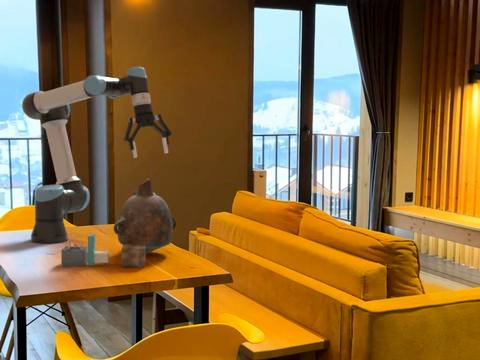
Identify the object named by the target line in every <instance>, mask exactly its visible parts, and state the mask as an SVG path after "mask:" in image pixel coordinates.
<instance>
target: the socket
mask: <svg viewBox="0 0 480 360" xmlns="http://www.w3.org/2000/svg"><path fill="white" fill-rule="evenodd" d="M145 253H146V244H123V245H122V247H121V268H122V269H124V268H125V269H128V268H129V269H145V266H146V254H145Z"/></svg>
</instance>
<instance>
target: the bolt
mask: <svg viewBox="0 0 480 360" xmlns="http://www.w3.org/2000/svg"><path fill="white" fill-rule="evenodd" d="M96 235H97V234H96V233H89V235H87V251H86V252H85V263H87V266H94V265H95V264H96V263H98V264H100V263H101V264H104V263H105V264H107V263H109V261H110V251H107V250H106V251H105V250H104V251H103V250H100V251H99V250H96Z"/></svg>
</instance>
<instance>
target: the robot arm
mask: <svg viewBox="0 0 480 360" xmlns="http://www.w3.org/2000/svg"><path fill="white" fill-rule="evenodd" d="M127 95H131V101H132V105H133V113H134V117H129V118H128V119H127V122H128V123H127V127H126V130H125V134H124V137H123V141H124V142H127V143H128V146H129V151H132V155H133V159H136V158H138V153H137V146H136V142H135V141H134V139H135V137H136V136H137V134H138V132H139V131H140V129H141V128H142V129H143V128H150V127H151V128H153V129H154V130H155V131H156V132H157V133H158V134H159V135H160V136H161V137H162V138H161V141H162V147H163V153H164V154H168V153H169V148H168V146H169V144H170V142H169V136H172V132H171V130H170V129H169V127H168V126H167V124H166V123H165V121H164V120H163V118H162V115H161V114H160V113H159V114H157V115H154V112H153V105H152V104H151V103H152V100H151V99H152V98H151V94H150V91H149V84H148V76H147V73H146V69H145V68H144V67H142V66H135V67H134V66H133V67H130V68H128V69H127V70H126V75H124V76H122V77H121V76H120V77H110V76H102V75H97V74H96V75H88V76H87V77H86V78H85V79H83V80H81V81H78V82H75V83H70V84H66V85H63V86H61V87H60V86H59V87H57V88H54V89H50V90H47V91H42V90H38V91H35V92H31V93H29V94H27V95H26V96H25V97H24V98H23V100H22V103H21V104H22V105H21V108H22V111H23V114H25V116H27V118H29V119H31V120H36V121H40V122H39V123H40V125H41V127H42V128H43V129H45V132H46V136H47V141H48V146H49V149H50V154H51V159H52V163H53V168H54V172H55V177H56V182H55V184H45V185H42V186H39V187H37V188H36V189H35V192H34V193H35V194H34V216H35V217H34V220H35V222H34V225H33V229H32V231H31V234H30V241H31V242H33V243H38V244H56V243H64V242H67V241H68V239H69V237H68V236H69V235H68V234H69V233H68V232H67V231H68V230H67V229H66V226H65V222H64V214H69V213H70V214H71V213H76V212H80V211H83V210H85V208H87V206H88V205H89V203H90V199H91V198H90V197H91V196H90V191H89V189H88V188H87V187H86V186H85V185H83V184H82V180H81V179H80V178H79V177H78V176H77V172H76V169H75V164H74V159H73V155H72V154H73V153H72V150H71V147H70V145H71V144H70V142H69V138H68V133H67V127H66V125H67V123H68V122H69V121H68V118H69V116H70V113H71V106H70V105H71V104H74V103H76V102H77V103H78V102H82V101H83V100H84V101H85V100H88V99H92V98H96V97H99V96H106V97H107V98H109V99H117V98H120V97H123V96H127ZM155 121H157V122H158V124H159V125H158V124H157V123H156V122H155ZM134 123H136V126H135V128H134V130H133V131H132V128H133V124H134ZM131 131H132V133H131ZM130 134H131V135H130Z"/></svg>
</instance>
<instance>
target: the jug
mask: <svg viewBox="0 0 480 360" xmlns="http://www.w3.org/2000/svg"><path fill="white" fill-rule="evenodd" d="M154 193H155V192H153V186H152V180H151V179H149V178H147V179H145V181H144V182H143V183H140V184H139V185H138V190H136V191H134V192H133V195H132V196H130V197H129V198H127V200H126V201H125V203H124V204H123V205H122V207H121V210H120V212H119V215H118V220H117V221H116V222H115V223H114V226H113V232H114V233H115V234H116V235H117V240H118V242H119V243H120V244H121V245H122V246H123V244H146V253H145V255H148V254H150V253H152V252H155V251H157V250H159V249H161V248H164V247H166V246H169V245H170V244H171V243H172V239H173V233H174V231H173V230H174V229H175V228H176V220H175V218H174V217H173V216H172V215H171V210H170V208H169V206H168V204H167V202H166V201H165V200H164V199H163V197H161V196H159V195H157V194H156V193H155V194H154Z"/></svg>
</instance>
